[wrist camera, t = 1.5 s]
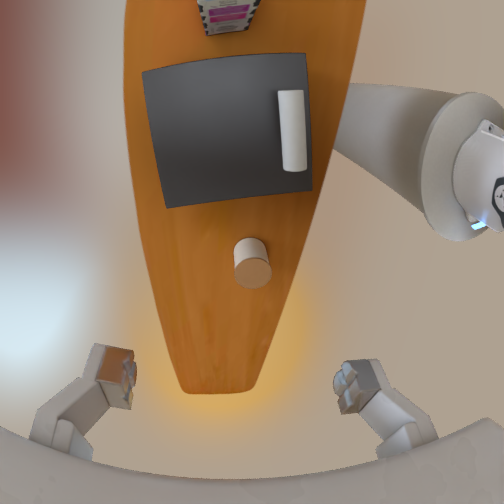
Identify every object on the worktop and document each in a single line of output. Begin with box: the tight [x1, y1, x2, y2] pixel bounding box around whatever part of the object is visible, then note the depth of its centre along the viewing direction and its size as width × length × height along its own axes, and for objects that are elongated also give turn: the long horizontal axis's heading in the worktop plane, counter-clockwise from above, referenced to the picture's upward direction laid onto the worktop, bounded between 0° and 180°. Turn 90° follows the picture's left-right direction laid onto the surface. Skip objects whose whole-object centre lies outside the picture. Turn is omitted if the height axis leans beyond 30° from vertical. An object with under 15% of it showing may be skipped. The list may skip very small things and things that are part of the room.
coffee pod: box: [234, 238, 272, 289], centre depth 38 cm, size 5×5×5 cm
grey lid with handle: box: [142, 53, 312, 208], centre depth 21 cm, size 13×13×5 cm
